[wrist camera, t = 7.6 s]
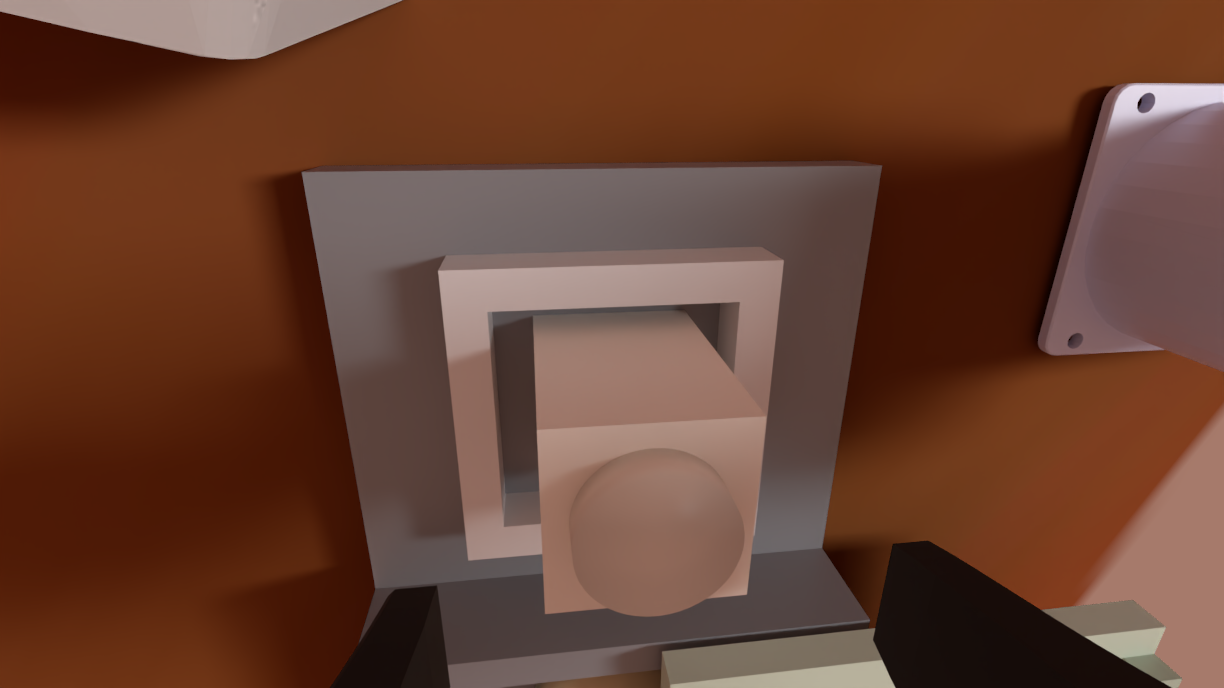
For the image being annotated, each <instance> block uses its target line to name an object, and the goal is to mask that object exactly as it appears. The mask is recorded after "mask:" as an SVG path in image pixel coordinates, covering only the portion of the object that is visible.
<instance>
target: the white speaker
mask: <svg viewBox="0 0 1224 688" xmlns="http://www.w3.org/2000/svg"><path fill="white" fill-rule="evenodd" d="M400 1H402V0H0V11H1V12H5V13H9V14H13V15H18V16H22V17H26V18H31V19H35V20H39V21H43V22H48V23H52V24H56V25H61V26H65V27H69V28H73V29H78V30H82V31H86V32H91V33H95V34H100V35H104V36H109V37H113V38H118V39H123V40H127V41H132V42H136V43H141V44H146V45H150V46H155V47H159V48H164V49H168V50H173V51H178V52H182V53H187V54H191V55H196V56H201V57H210V58H220V59H256V58H260V57H263V56H266V55H268V54H271V53H273V52H276V51H278V50H281V49H283V48H285V47H288V46H290V45H293V44H295V43H298V42H300V41H303V40H305V39H308V38H310V37H313V36H315V35H318V34H320V33H323V32H325V31H328V30H330V29H333V28H335V27H338V26H340V25H343V24H345V23H348V22H350V21H353V20H355V19H357V18H360V17H362V16H365V15H367V14H370V13H372V12H375V11H377V10H380V9H382V8H385V7H387V6H390V5H392V4H395V3H397V2H400Z"/></svg>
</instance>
